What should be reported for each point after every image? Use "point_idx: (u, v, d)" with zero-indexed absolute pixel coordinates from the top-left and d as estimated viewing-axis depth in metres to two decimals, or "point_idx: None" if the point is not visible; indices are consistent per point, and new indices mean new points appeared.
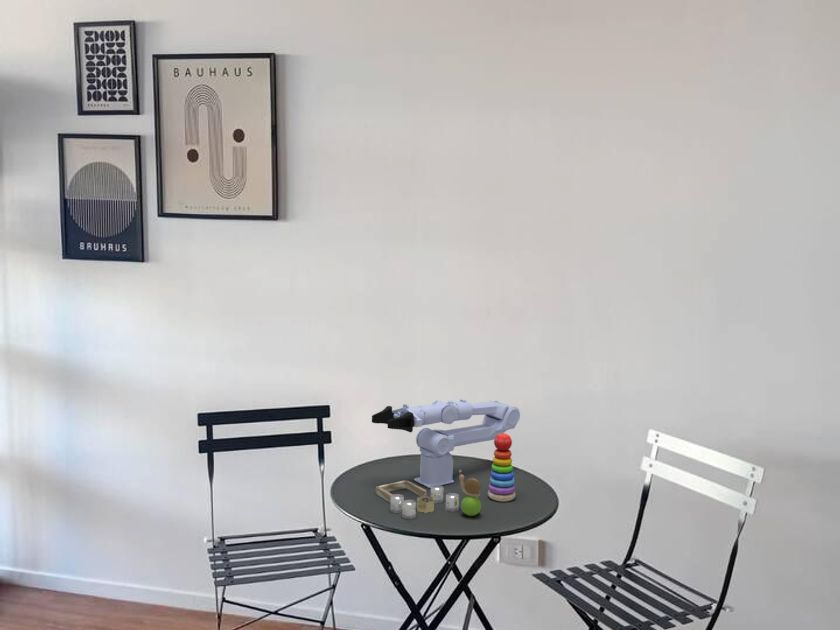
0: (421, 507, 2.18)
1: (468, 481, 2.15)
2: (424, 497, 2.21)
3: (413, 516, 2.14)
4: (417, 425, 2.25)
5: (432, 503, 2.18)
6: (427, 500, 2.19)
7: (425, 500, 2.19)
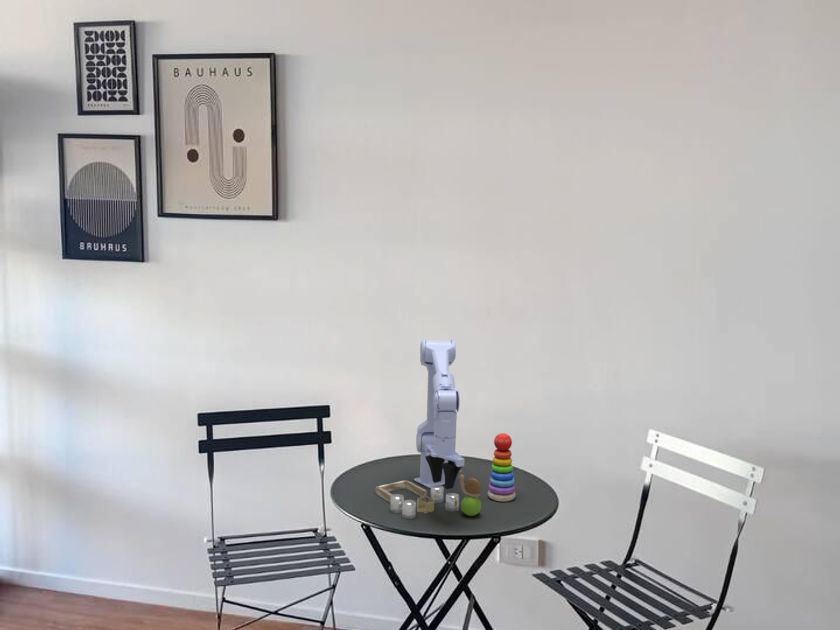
0: (421, 507, 2.18)
1: (468, 481, 2.15)
2: (424, 497, 2.21)
3: (413, 516, 2.14)
4: (462, 464, 2.06)
5: (432, 503, 2.18)
6: (427, 500, 2.19)
7: (425, 500, 2.19)
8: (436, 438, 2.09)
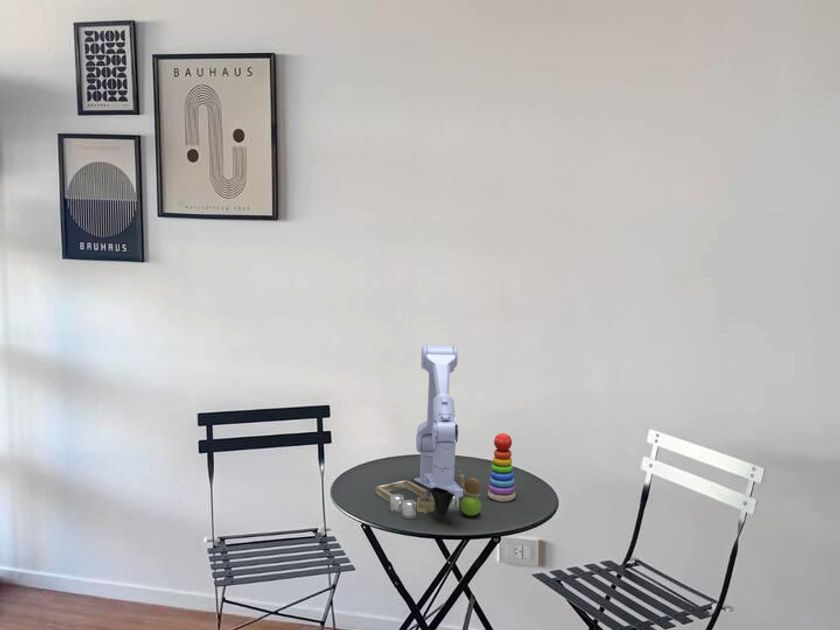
0: (421, 507, 2.18)
1: (468, 481, 2.15)
2: (424, 497, 2.21)
3: (413, 516, 2.14)
4: (461, 495, 2.07)
5: (432, 503, 2.18)
6: (427, 500, 2.19)
7: (425, 500, 2.19)
8: (435, 468, 2.10)
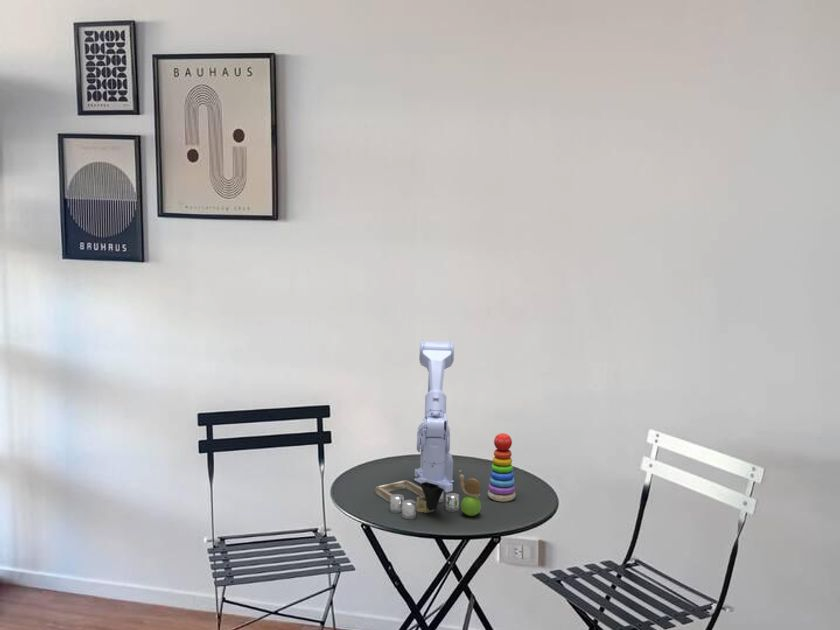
0: (420, 507, 2.18)
1: (468, 481, 2.15)
2: (424, 496, 2.21)
3: (413, 516, 2.14)
4: (451, 490, 2.11)
5: None
6: None
7: (425, 499, 2.19)
8: (425, 463, 2.13)
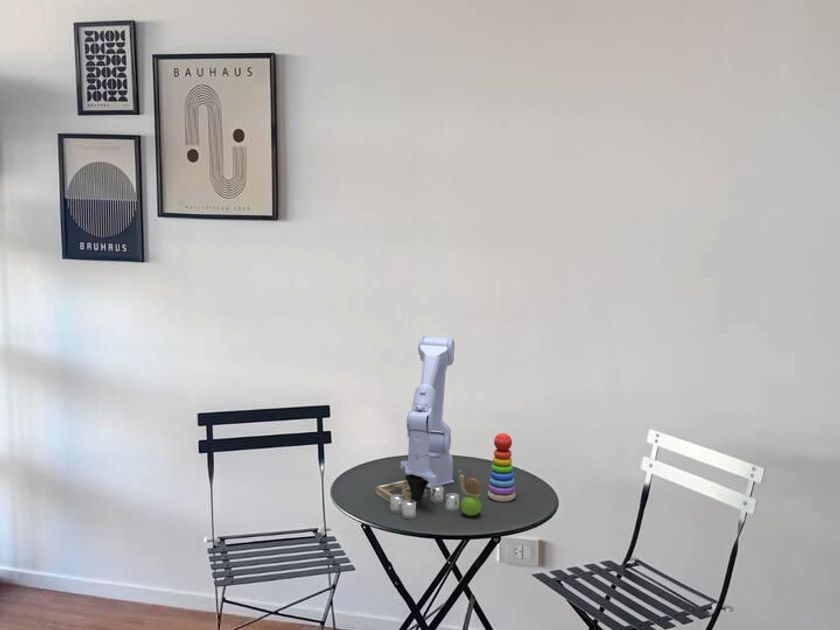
0: (405, 498, 2.24)
1: (468, 481, 2.15)
2: (409, 488, 2.27)
3: (413, 516, 2.14)
4: (435, 482, 2.16)
5: None
6: None
7: (410, 491, 2.24)
8: (410, 456, 2.19)
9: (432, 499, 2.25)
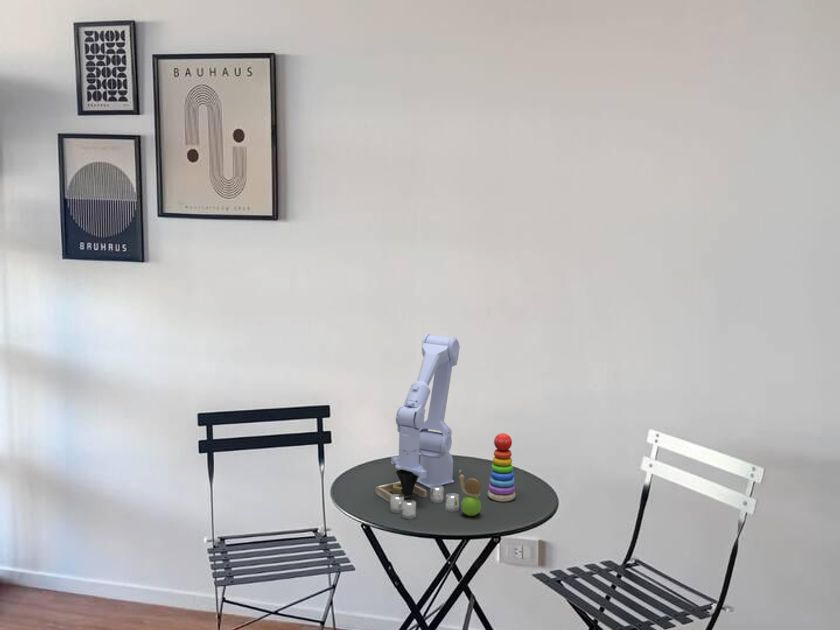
0: (396, 493, 2.27)
1: (468, 481, 2.15)
2: (399, 483, 2.30)
3: (413, 516, 2.14)
4: (425, 476, 2.20)
5: None
6: None
7: (400, 486, 2.28)
8: (400, 451, 2.23)
9: (432, 499, 2.25)
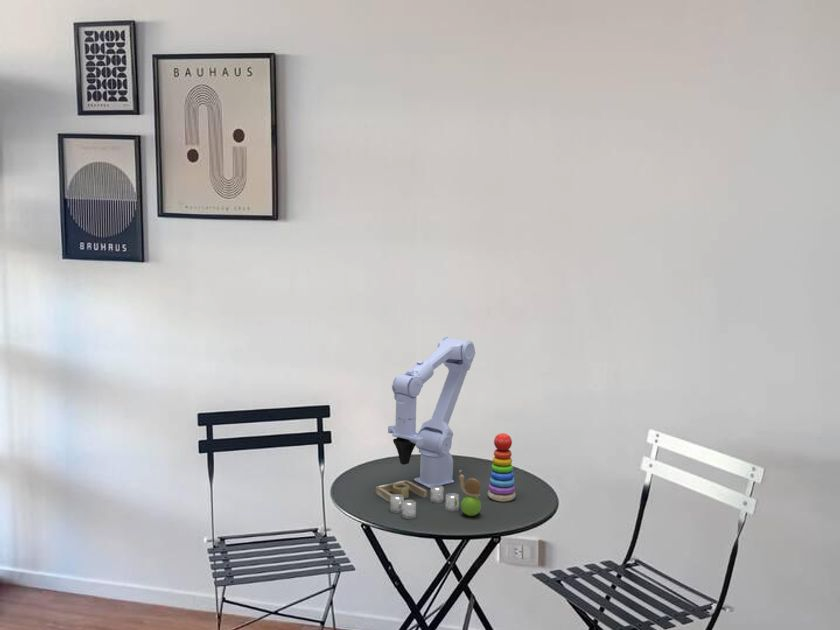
0: (396, 493, 2.27)
1: (468, 481, 2.15)
2: (399, 484, 2.30)
3: (413, 516, 2.14)
4: (422, 444, 2.22)
5: (407, 489, 2.28)
6: (402, 486, 2.28)
7: (400, 486, 2.28)
8: (397, 420, 2.25)
9: (432, 499, 2.25)
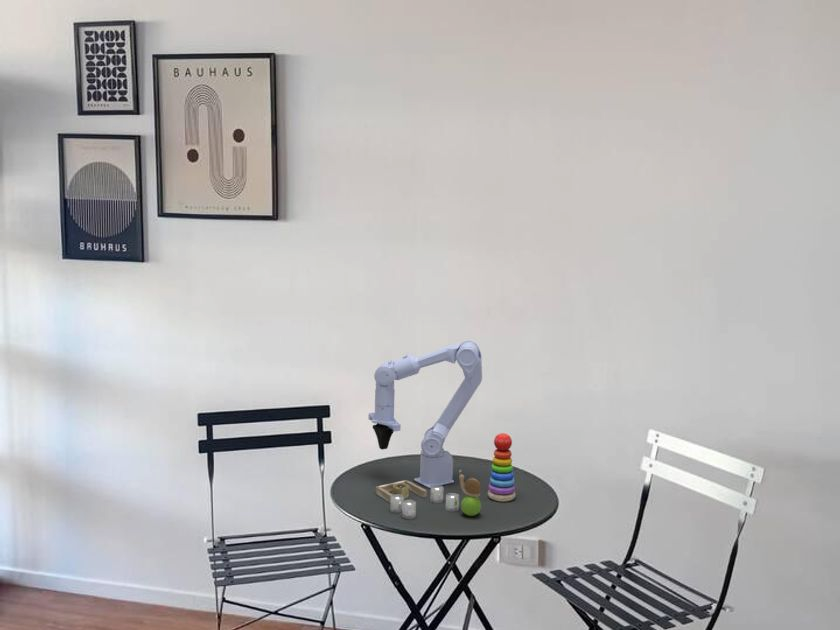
0: (396, 493, 2.27)
1: (468, 481, 2.15)
2: (399, 484, 2.30)
3: (413, 516, 2.14)
4: (399, 429, 2.34)
5: (407, 489, 2.28)
6: (402, 486, 2.28)
7: (400, 486, 2.28)
8: (376, 406, 2.37)
9: (432, 499, 2.25)
